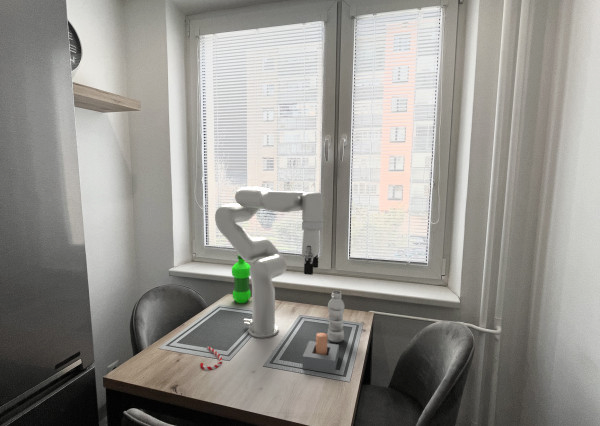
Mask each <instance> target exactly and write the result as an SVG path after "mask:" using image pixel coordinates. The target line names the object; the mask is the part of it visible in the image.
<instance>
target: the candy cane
mask: <svg viewBox="0 0 600 426" xmlns="http://www.w3.org/2000/svg"><path fill="white" fill-rule="evenodd" d="M206 349H207V350H208V351H209V352H210V353H212V354H213V355H214V356H215V357H216V358H217V359H218V362H217V363H216V364H214V365H211V366H206V365H204V363H203V362H200V365H199V367H200V369H201V370H204V371H212V370H215V369H217V368H219V367H221V366H222V364H223V358H222V355H221V354H220V353H219V352H217V351H216V350H215V349H214V348H212V347H211V346H207V347H206Z"/></svg>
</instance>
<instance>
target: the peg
mask: <svg viewBox="0 0 600 426" xmlns="http://www.w3.org/2000/svg"><path fill="white" fill-rule="evenodd" d="M315 342H316V354H321V355H327V343H328V335H327V333H325V332H317V333H316V335H315Z"/></svg>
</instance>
